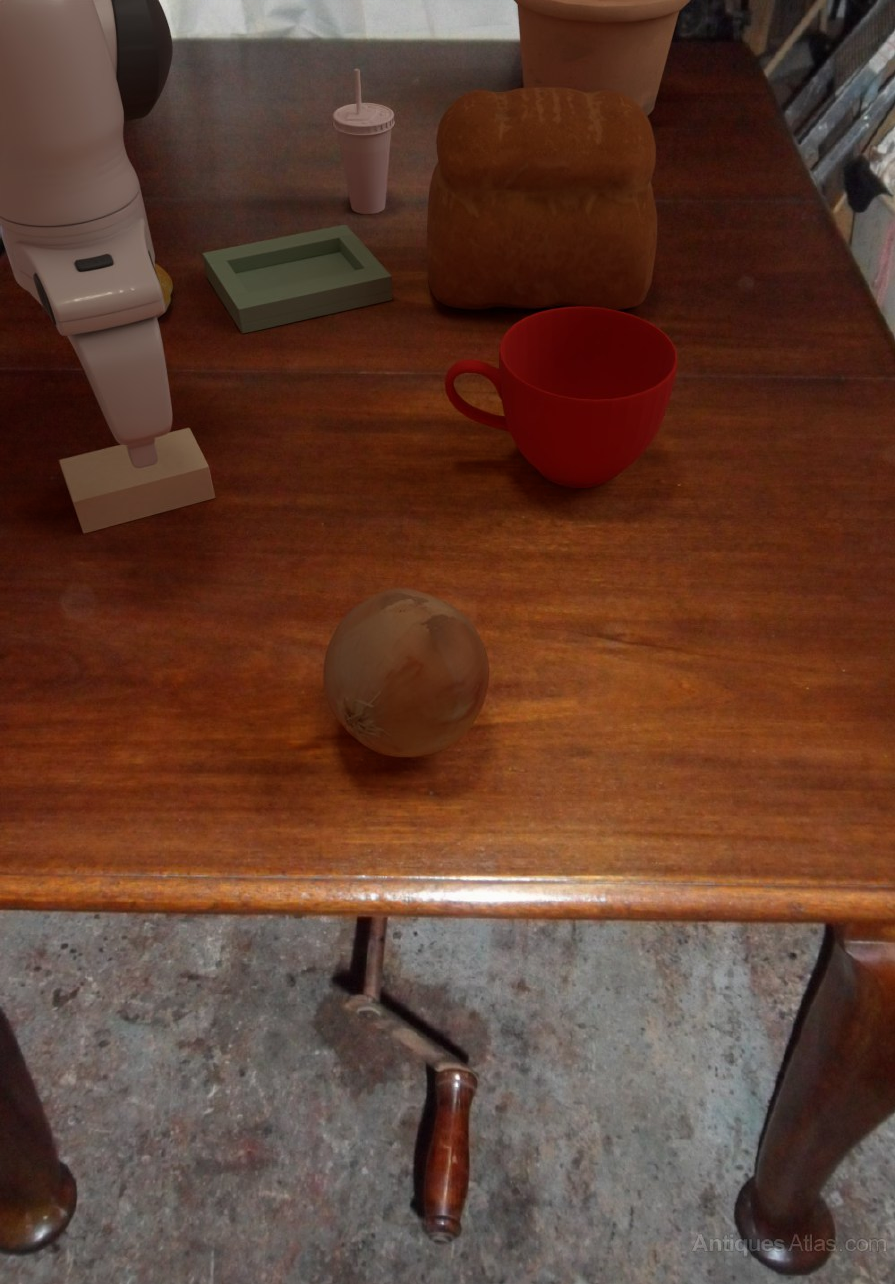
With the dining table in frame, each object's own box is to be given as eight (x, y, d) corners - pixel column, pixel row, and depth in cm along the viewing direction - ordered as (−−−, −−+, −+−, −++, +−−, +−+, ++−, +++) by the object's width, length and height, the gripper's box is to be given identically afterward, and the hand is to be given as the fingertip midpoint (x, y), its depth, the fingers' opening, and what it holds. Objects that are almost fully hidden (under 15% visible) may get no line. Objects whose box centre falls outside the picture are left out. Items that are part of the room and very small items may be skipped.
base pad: (242, 334, 98) (238, 309, 96) (206, 276, 105) (202, 252, 103) (392, 300, 102) (391, 276, 100) (347, 247, 110) (346, 223, 108)
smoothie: (326, 207, 116) (315, 68, 106) (369, 189, 119) (361, 52, 109) (367, 225, 113) (360, 84, 103) (409, 206, 116) (406, 67, 106)
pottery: (560, 63, 147) (568, -57, 137) (704, 97, 139) (724, -29, 128) (470, 111, 135) (472, -17, 125) (622, 152, 126) (637, 17, 116)
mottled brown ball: (301, 764, 64) (283, 649, 56) (368, 651, 70) (360, 535, 63) (453, 812, 61) (453, 698, 54) (508, 690, 68) (515, 575, 60)
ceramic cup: (447, 413, 89) (447, 303, 82) (650, 417, 89) (668, 307, 81) (442, 512, 80) (441, 398, 73) (667, 516, 80) (689, 402, 72)
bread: (428, 238, 111) (426, 63, 99) (633, 238, 111) (656, 63, 99) (426, 324, 99) (423, 136, 87) (656, 324, 99) (685, 137, 87)
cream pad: (83, 534, 78) (73, 502, 76) (68, 491, 82) (58, 459, 80) (215, 498, 81) (209, 466, 79) (195, 458, 85) (189, 427, 82)
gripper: (1, 187, 73) (57, 366, 82) (59, 326, 60) (116, 517, 70) (94, 170, 74) (137, 347, 84) (169, 301, 61) (209, 491, 71)
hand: (128, 425), depth 77 cm, fingers open, 8 cm apart
